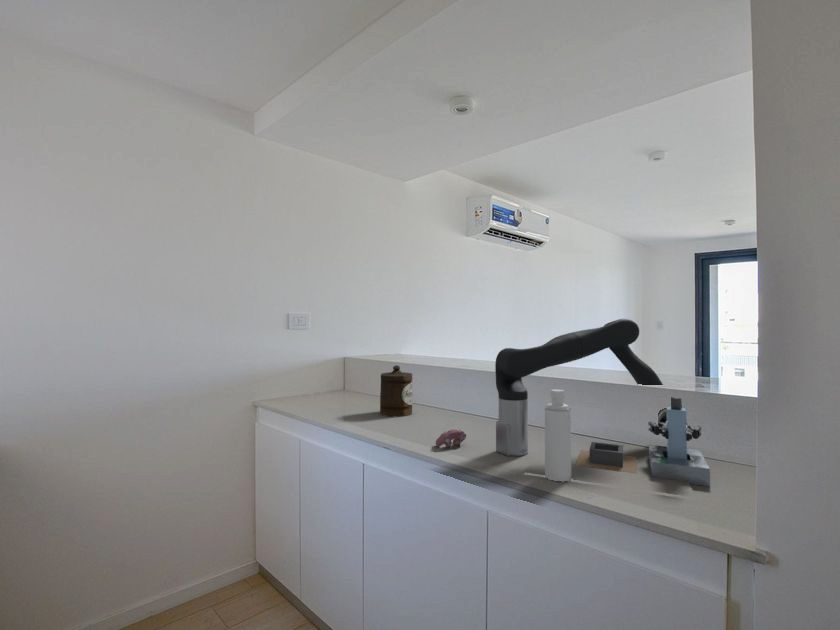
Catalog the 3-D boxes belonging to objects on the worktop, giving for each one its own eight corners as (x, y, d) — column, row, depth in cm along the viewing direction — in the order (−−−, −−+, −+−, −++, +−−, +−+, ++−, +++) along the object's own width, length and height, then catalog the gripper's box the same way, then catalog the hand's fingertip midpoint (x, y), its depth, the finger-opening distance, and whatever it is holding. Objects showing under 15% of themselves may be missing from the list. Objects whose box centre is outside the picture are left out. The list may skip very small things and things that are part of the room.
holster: (637, 475, 118) (637, 458, 118) (575, 466, 125) (575, 450, 125) (636, 458, 132) (636, 443, 133) (580, 452, 139) (580, 437, 139)
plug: (687, 469, 118) (686, 399, 118) (668, 467, 120) (667, 398, 120) (685, 464, 122) (684, 397, 122) (667, 462, 124) (666, 396, 124)
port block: (710, 486, 110) (709, 467, 110) (652, 478, 116) (651, 460, 116) (699, 465, 126) (699, 449, 126) (649, 459, 132) (649, 443, 132)
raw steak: (440, 453, 143) (445, 436, 141) (433, 444, 147) (438, 427, 144) (464, 449, 148) (469, 432, 146) (457, 440, 152) (463, 424, 149)
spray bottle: (567, 484, 112) (567, 386, 112) (542, 479, 115) (541, 384, 116) (573, 476, 117) (573, 383, 118) (549, 471, 121) (548, 382, 121)
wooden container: (411, 416, 192) (411, 367, 192) (378, 416, 192) (378, 367, 193) (412, 410, 207) (412, 364, 207) (381, 410, 207) (382, 363, 208)
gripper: (645, 408, 137) (648, 420, 122) (698, 412, 131) (708, 425, 116) (646, 432, 137) (648, 446, 122) (699, 437, 131) (708, 453, 115)
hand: (677, 436), depth 119 cm, fingers closed on plug, 4 cm apart
